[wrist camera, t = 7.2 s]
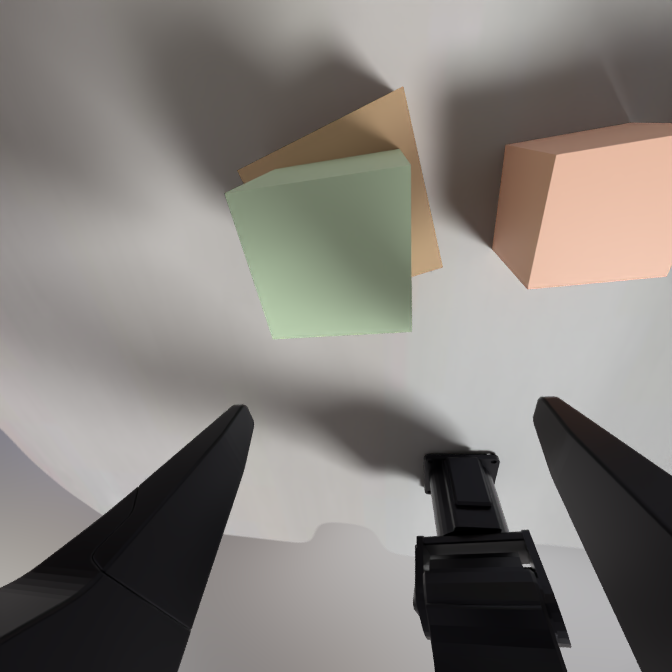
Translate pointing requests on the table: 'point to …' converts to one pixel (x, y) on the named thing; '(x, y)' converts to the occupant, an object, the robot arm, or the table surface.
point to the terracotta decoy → (587, 206)
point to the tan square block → (364, 138)
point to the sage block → (330, 245)
